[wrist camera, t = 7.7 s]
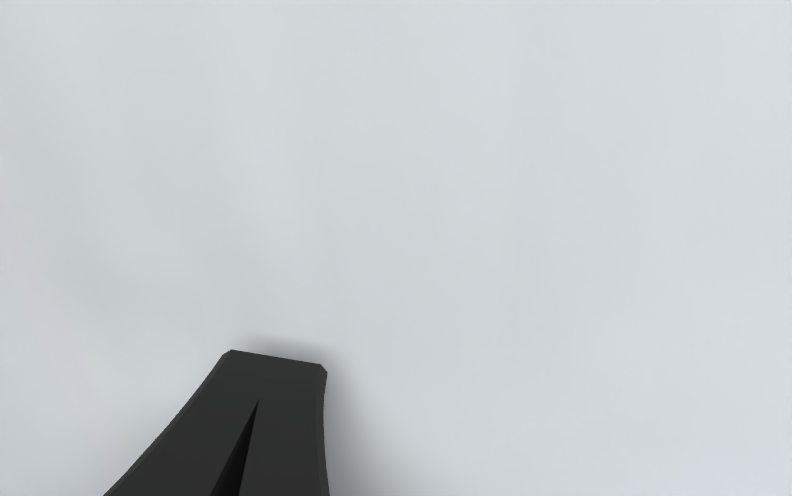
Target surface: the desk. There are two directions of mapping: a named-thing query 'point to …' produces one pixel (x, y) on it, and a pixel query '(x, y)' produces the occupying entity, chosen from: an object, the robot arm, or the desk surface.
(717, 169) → the desk surface
